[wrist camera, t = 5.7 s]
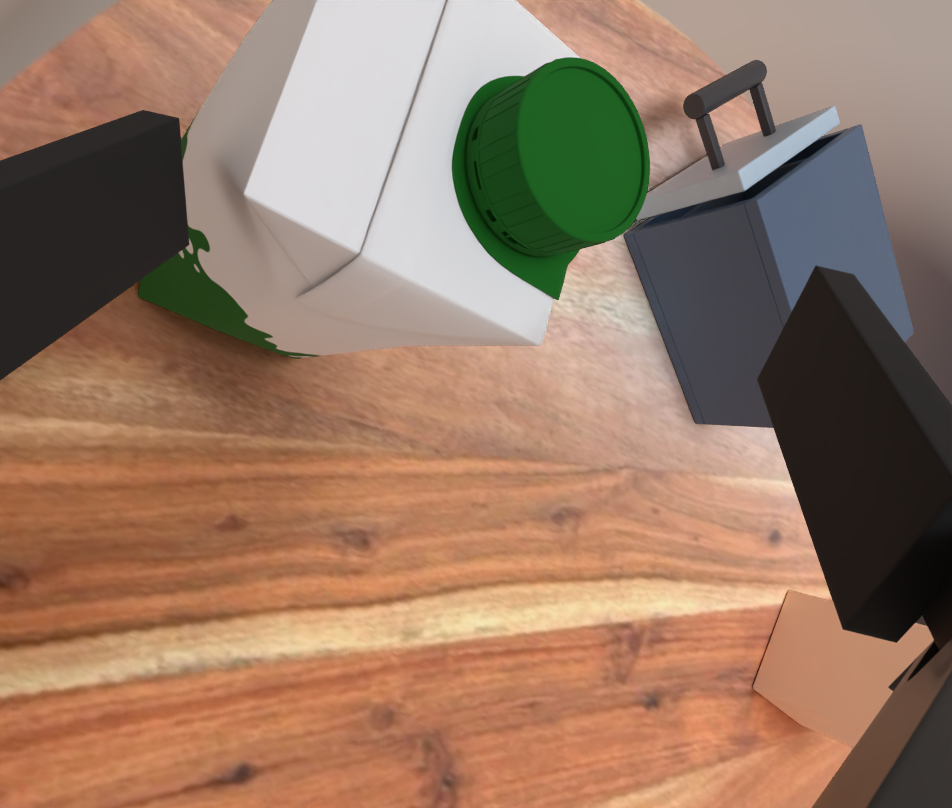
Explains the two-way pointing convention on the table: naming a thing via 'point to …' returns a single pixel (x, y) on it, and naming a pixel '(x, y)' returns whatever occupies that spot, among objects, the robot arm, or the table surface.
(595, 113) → the milk carton
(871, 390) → the robot arm
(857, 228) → the blue drawer cabinet
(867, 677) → the soap dispenser
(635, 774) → the table surface
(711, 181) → the drawer
